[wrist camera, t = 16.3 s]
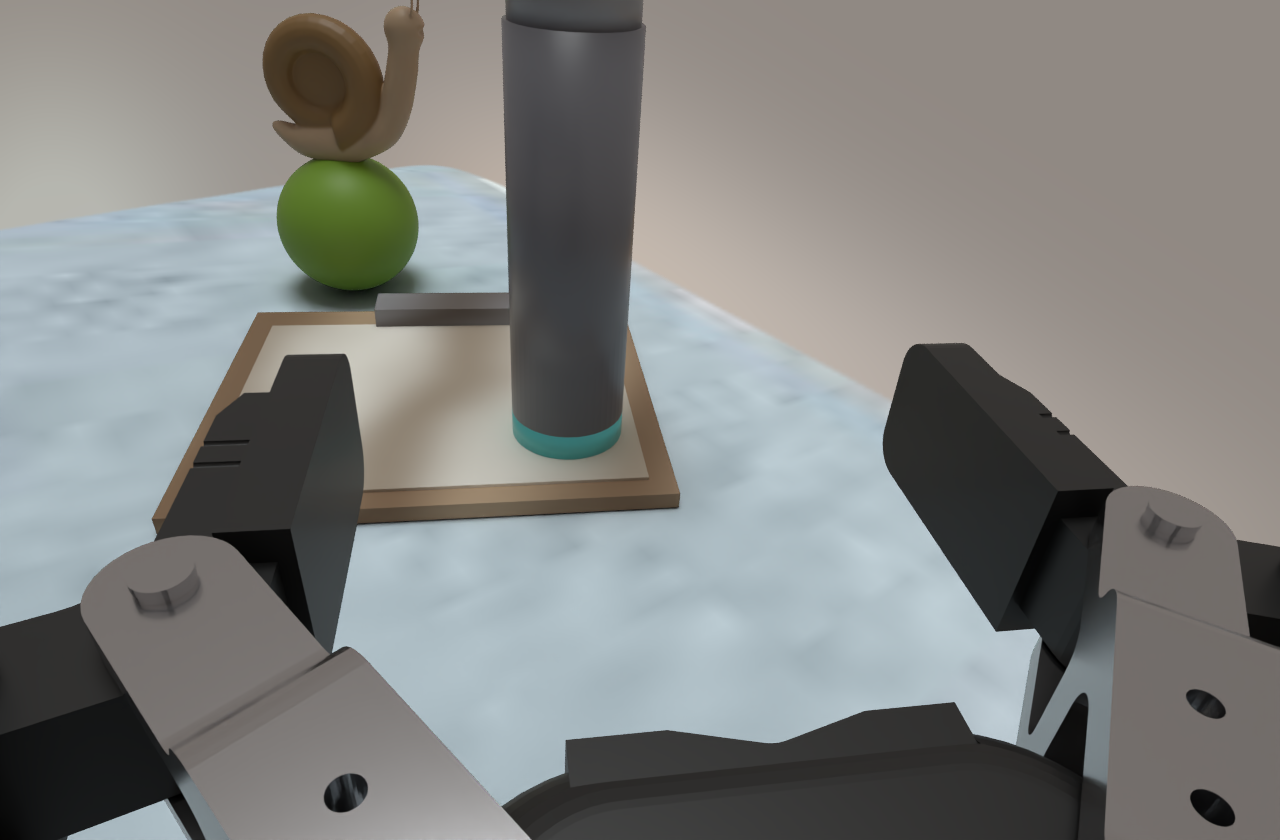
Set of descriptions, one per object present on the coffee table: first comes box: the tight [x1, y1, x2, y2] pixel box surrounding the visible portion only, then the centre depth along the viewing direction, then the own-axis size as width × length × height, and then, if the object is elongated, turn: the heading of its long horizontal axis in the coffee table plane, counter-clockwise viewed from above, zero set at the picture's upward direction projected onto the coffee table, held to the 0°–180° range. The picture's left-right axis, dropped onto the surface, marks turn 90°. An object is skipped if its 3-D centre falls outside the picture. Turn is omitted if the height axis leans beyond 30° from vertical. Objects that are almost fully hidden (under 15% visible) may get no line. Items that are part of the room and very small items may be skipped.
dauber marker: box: [502, 0, 646, 460], centre depth 22 cm, size 3×3×13 cm
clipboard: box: [152, 293, 680, 534], centre depth 27 cm, size 14×12×1 cm
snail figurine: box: [263, 0, 424, 290], centre depth 31 cm, size 5×6×12 cm
